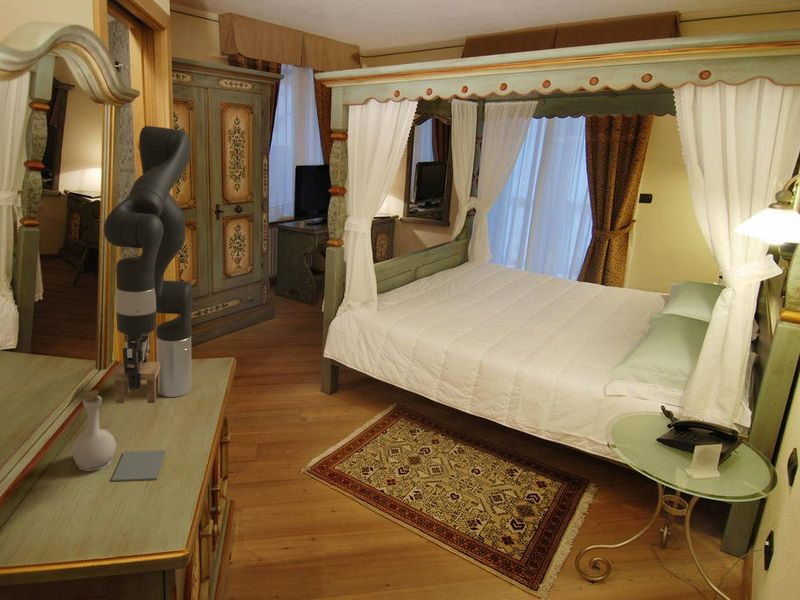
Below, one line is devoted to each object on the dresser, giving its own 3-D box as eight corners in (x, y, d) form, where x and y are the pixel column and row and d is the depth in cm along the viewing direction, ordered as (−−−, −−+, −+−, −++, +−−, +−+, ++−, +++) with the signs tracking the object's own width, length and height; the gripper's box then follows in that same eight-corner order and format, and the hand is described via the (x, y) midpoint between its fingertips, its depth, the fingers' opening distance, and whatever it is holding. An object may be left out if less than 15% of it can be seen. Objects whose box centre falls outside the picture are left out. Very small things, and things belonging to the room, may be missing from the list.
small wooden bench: (160, 390, 122) (160, 362, 120) (155, 403, 116) (154, 373, 114) (121, 390, 120) (120, 361, 118) (114, 403, 114) (113, 373, 112)
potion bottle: (98, 477, 117) (94, 403, 112) (63, 468, 119) (58, 395, 114) (126, 456, 126) (123, 386, 120) (92, 448, 127) (89, 378, 122)
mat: (124, 452, 127) (124, 451, 127) (165, 451, 129) (165, 450, 129) (111, 481, 116) (111, 479, 116) (156, 479, 119) (156, 478, 119)
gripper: (148, 320, 107) (150, 396, 111) (162, 298, 120) (162, 368, 125) (106, 318, 105) (110, 397, 109) (125, 297, 118) (127, 367, 123)
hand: (138, 381), depth 117 cm, fingers closed on small wooden bench, 6 cm apart
